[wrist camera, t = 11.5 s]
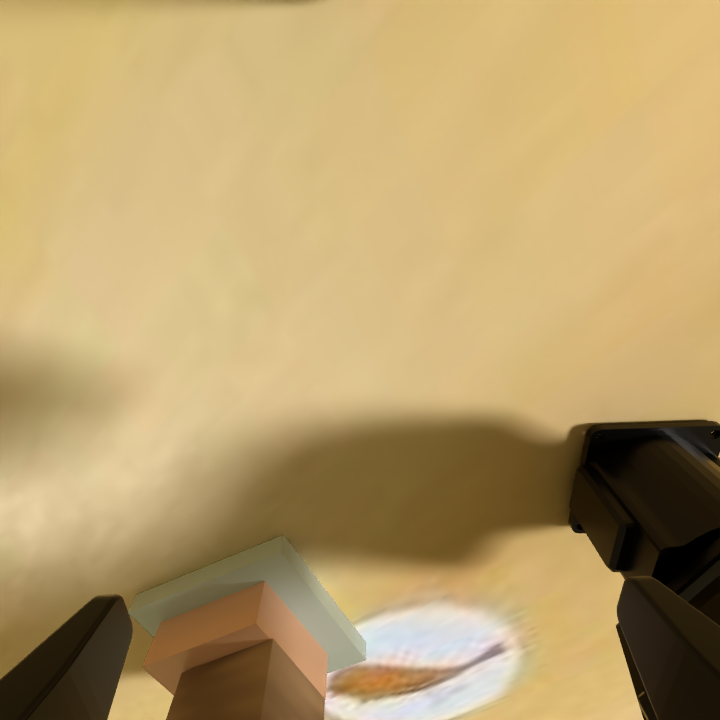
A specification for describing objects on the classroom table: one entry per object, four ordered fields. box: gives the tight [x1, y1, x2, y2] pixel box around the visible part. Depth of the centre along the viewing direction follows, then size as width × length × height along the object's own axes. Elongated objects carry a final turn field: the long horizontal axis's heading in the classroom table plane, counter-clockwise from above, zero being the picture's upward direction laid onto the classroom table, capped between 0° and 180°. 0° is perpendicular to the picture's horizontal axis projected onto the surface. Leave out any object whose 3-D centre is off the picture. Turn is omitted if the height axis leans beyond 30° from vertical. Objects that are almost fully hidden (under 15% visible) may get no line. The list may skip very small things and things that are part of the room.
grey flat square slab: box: [128, 535, 366, 673], centre depth 27 cm, size 10×10×2 cm
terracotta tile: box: [142, 581, 328, 699], centre depth 25 cm, size 7×7×2 cm
